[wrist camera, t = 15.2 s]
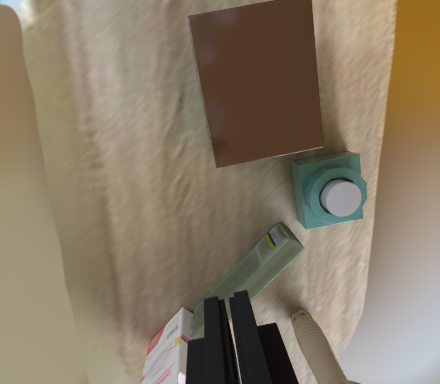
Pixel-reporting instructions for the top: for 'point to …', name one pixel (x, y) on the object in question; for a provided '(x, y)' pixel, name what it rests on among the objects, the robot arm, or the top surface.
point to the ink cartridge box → (169, 351)
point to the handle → (317, 350)
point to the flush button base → (316, 180)
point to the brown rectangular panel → (258, 80)
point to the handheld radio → (253, 271)
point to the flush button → (340, 197)
